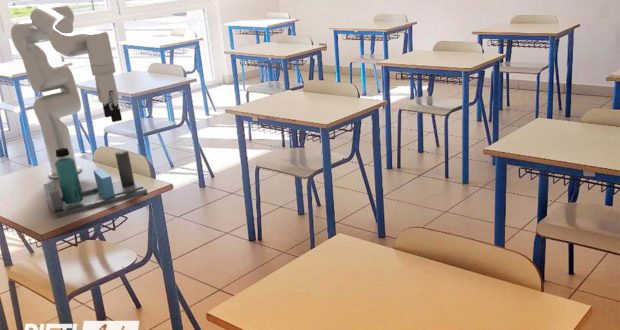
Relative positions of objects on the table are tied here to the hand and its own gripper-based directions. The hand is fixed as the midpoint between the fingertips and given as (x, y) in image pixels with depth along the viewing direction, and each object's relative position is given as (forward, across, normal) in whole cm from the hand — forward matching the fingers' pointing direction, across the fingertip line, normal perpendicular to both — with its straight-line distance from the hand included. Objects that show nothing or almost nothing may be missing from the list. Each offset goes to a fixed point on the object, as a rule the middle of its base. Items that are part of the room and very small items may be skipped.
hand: (113, 118), depth 216 cm
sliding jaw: (+26, 0, -2) cm, 26 cm away
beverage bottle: (+27, 0, -18) cm, 32 cm away
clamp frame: (+26, 0, -11) cm, 29 cm away
